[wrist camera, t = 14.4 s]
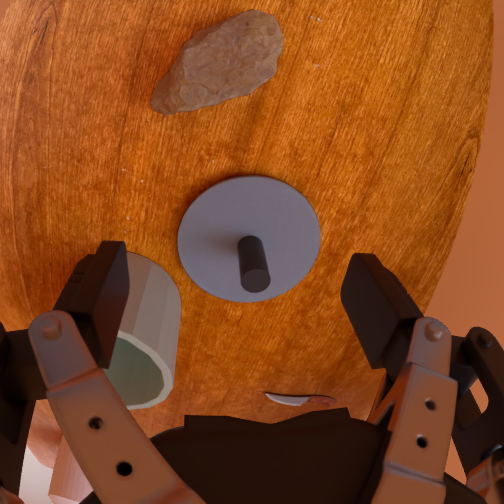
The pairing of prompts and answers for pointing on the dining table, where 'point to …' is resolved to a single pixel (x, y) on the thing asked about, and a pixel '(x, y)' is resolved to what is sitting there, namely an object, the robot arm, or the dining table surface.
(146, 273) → the processor bowl
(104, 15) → the dining table surface
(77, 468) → the bottle
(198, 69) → the stone tool
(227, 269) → the lid
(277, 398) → the knife
